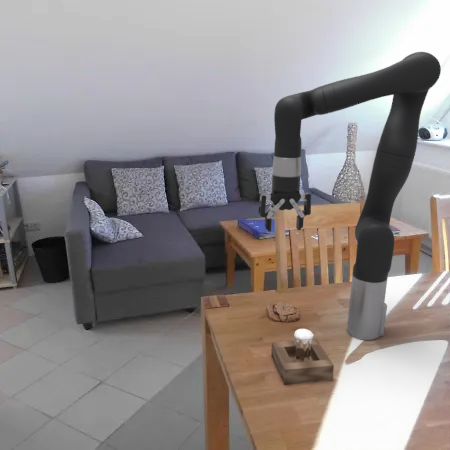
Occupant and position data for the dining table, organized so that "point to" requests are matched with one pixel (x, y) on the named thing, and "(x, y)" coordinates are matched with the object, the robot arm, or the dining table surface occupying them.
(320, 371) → the socket block
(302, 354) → the milkshake
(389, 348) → the dining table surface
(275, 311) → the cookie
